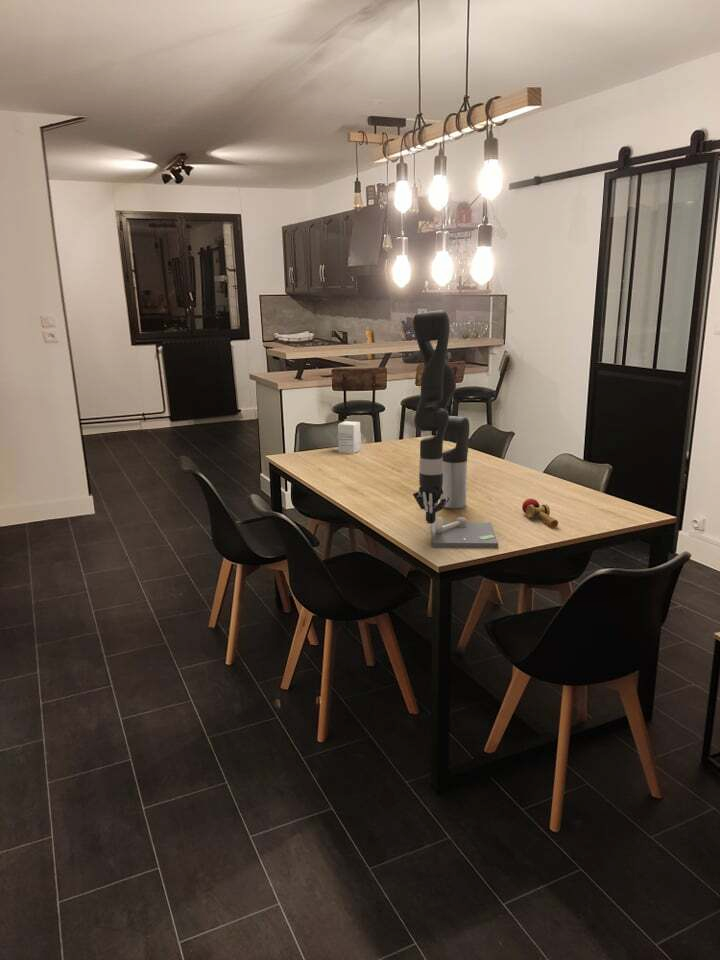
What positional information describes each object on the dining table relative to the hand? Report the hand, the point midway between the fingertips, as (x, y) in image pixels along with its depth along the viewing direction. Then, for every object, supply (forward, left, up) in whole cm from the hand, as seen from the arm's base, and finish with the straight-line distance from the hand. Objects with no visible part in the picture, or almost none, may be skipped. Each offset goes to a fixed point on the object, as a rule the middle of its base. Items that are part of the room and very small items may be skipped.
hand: (430, 522), depth 218 cm
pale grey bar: (-2, +7, -2) cm, 7 cm away
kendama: (-16, +38, -4) cm, 41 cm away
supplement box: (-125, -38, -4) cm, 130 cm away
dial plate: (+1, +10, -4) cm, 11 cm away
